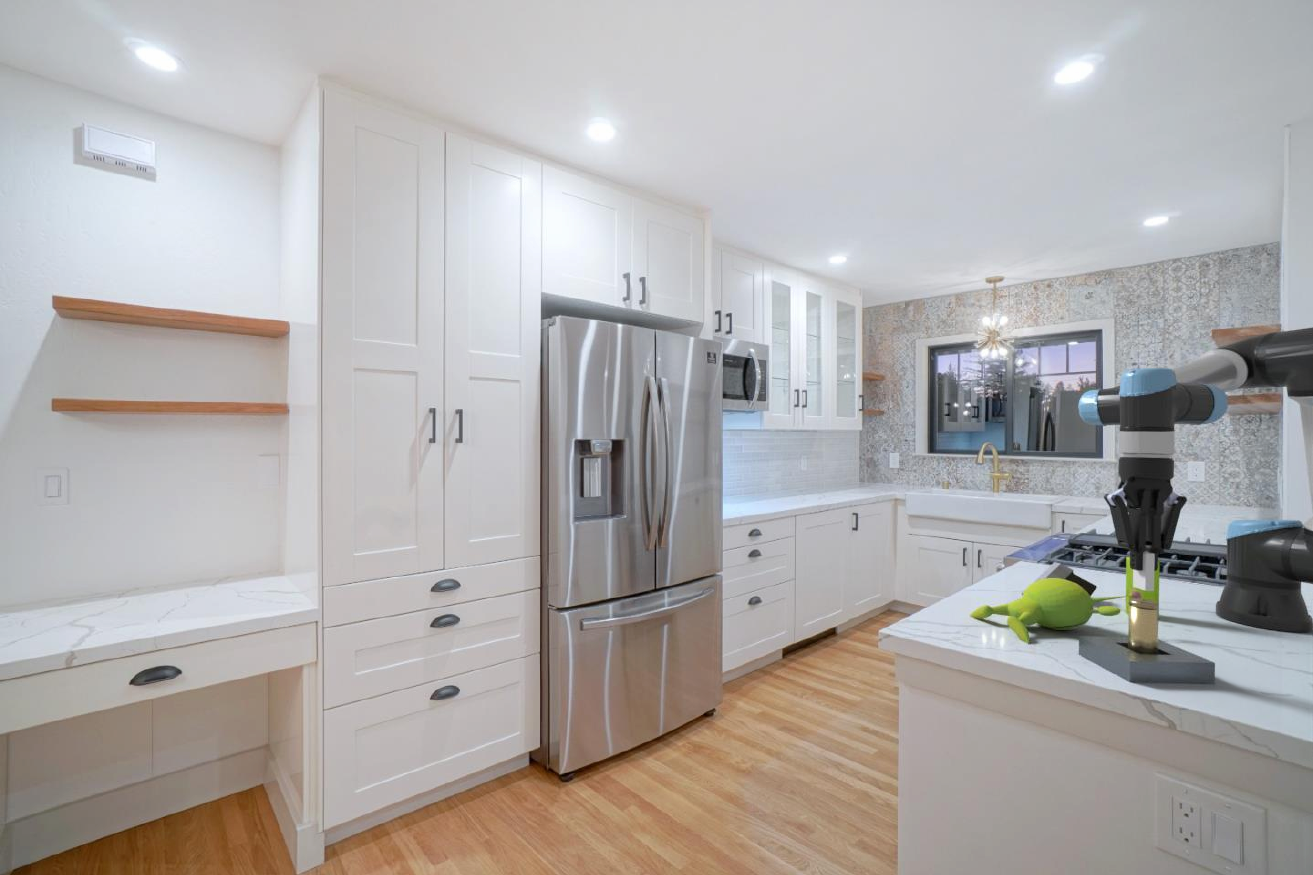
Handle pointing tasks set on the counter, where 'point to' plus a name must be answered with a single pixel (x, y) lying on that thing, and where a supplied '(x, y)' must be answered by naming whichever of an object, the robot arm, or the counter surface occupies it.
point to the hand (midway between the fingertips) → (1143, 588)
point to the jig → (1147, 661)
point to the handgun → (1066, 577)
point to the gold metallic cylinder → (1143, 626)
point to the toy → (1050, 607)
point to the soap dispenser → (1144, 594)
